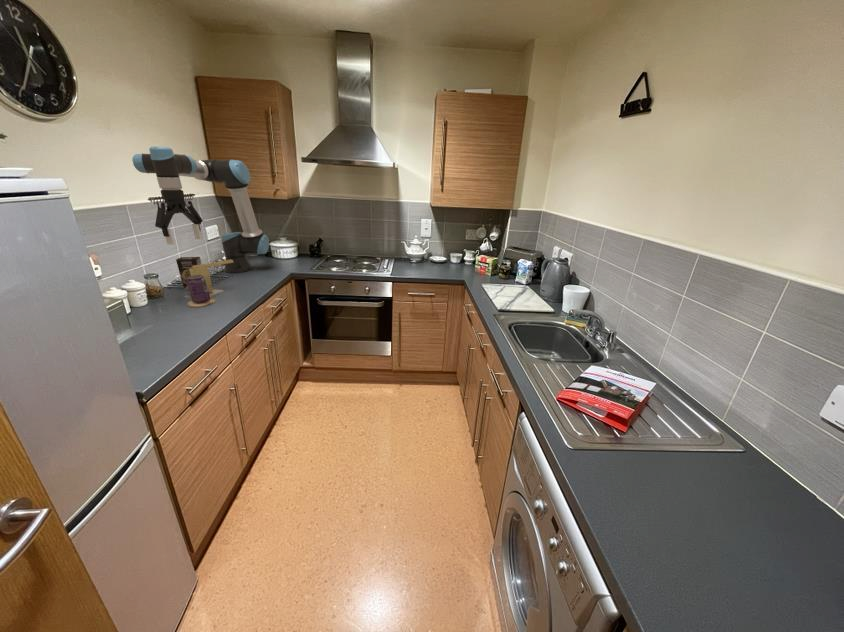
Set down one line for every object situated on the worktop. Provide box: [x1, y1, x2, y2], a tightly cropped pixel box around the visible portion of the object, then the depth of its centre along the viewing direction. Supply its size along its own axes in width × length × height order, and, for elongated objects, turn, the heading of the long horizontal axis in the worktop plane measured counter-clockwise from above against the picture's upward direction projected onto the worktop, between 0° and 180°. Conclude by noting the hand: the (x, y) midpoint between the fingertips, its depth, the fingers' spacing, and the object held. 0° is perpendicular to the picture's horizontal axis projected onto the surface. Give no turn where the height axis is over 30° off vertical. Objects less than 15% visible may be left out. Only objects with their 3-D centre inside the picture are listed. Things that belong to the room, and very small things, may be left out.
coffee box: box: [175, 256, 202, 291], centre depth 168 cm, size 9×6×16 cm
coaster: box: [187, 297, 216, 308], centre depth 151 cm, size 11×11×1 cm
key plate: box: [184, 288, 225, 299], centre depth 161 cm, size 12×12×1 cm
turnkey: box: [189, 259, 233, 292], centre depth 163 cm, size 3×20×14 cm, turn 143°
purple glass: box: [187, 275, 210, 303], centre depth 148 cm, size 7×7×12 cm
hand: (185, 241), depth 139 cm, fingers open, 13 cm apart
